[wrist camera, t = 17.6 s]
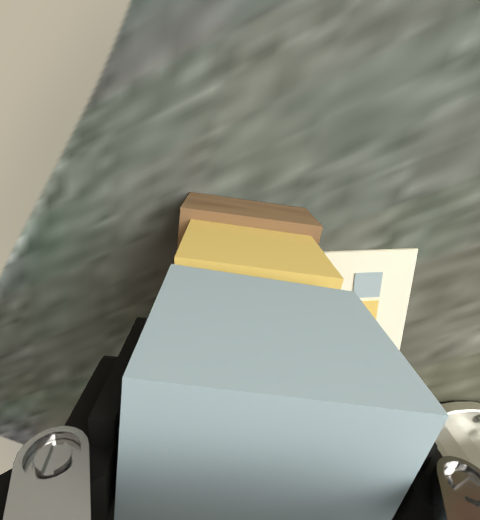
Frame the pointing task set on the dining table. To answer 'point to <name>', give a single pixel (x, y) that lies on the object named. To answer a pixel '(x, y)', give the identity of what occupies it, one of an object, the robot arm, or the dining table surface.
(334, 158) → the dining table surface
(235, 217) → the base brick
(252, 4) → the dining table surface
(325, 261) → the mustard brick
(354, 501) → the bluegrey brick
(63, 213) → the dining table surface
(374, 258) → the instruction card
